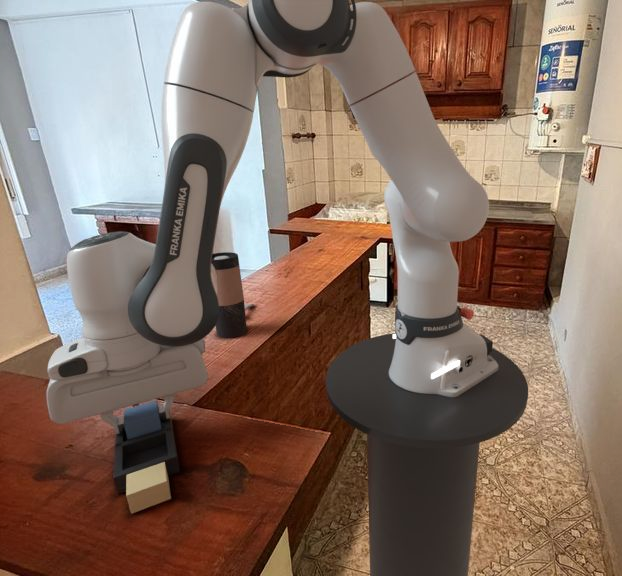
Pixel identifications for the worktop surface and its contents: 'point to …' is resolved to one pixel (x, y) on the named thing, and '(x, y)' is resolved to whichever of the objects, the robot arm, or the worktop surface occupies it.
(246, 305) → the spoon
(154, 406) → the pad blue
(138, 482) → the pad beige
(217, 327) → the travel mug
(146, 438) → the backing frame
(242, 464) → the worktop surface
